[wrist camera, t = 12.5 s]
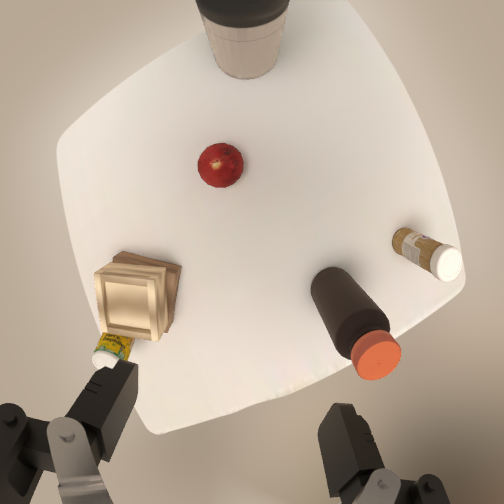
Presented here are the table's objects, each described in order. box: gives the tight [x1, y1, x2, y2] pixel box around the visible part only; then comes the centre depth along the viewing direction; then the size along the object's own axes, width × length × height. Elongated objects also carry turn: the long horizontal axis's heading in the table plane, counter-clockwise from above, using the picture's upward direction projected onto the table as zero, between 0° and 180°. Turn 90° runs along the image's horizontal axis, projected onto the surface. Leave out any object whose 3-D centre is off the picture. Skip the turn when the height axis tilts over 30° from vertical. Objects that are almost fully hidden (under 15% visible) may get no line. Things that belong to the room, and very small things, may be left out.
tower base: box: [113, 251, 181, 333], centre depth 42 cm, size 10×10×4 cm
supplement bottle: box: [92, 332, 134, 369], centre depth 40 cm, size 5×5×10 cm
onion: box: [198, 143, 244, 188], centre depth 35 cm, size 6×6×8 cm
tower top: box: [94, 262, 168, 342], centre depth 37 cm, size 9×9×5 cm
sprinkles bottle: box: [393, 228, 462, 282], centre depth 35 cm, size 5×5×13 cm
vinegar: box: [311, 268, 401, 380], centre depth 34 cm, size 7×7×20 cm
